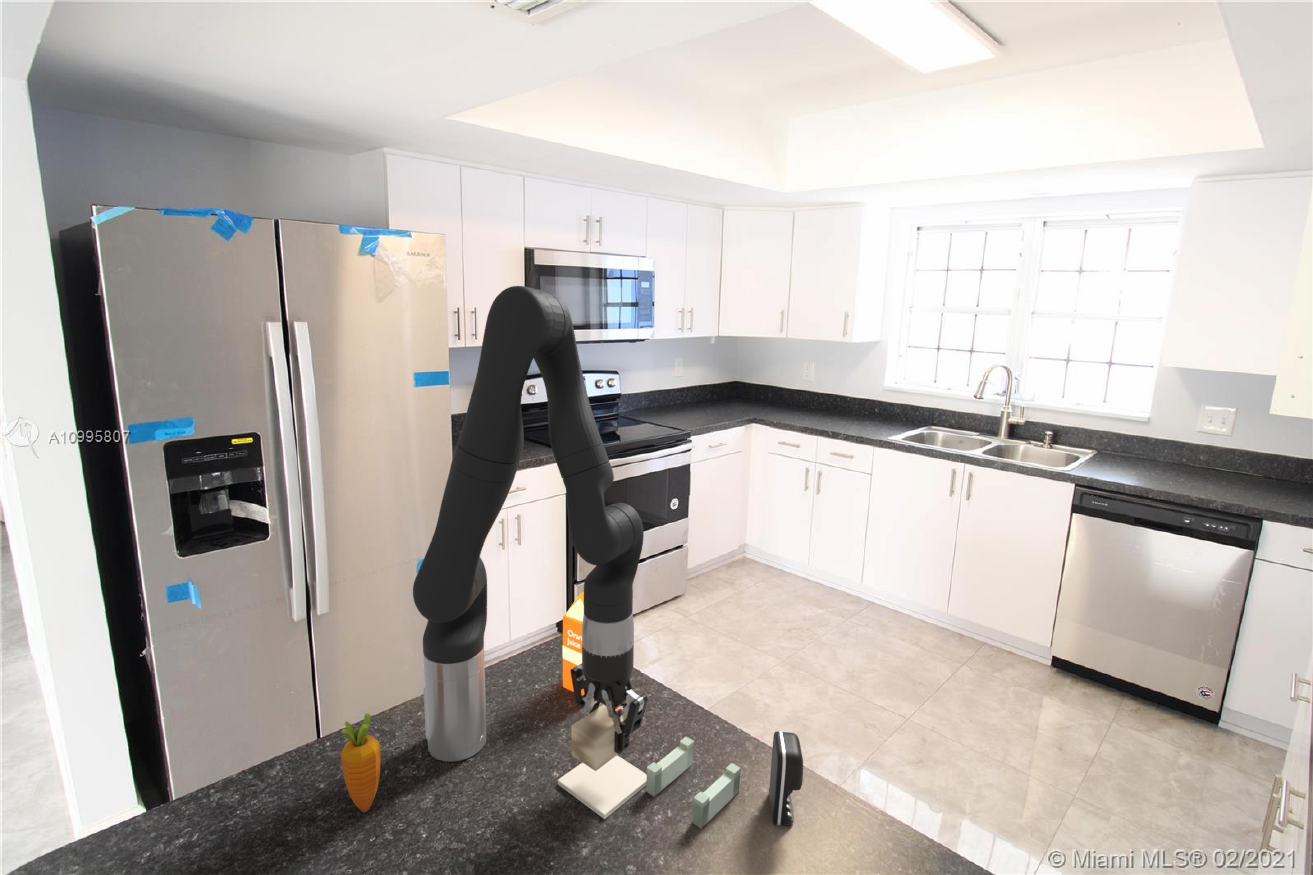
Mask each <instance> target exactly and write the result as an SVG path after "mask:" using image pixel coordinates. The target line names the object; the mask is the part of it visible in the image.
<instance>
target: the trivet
mask: <svg viewBox="0 0 1313 875" xmlns="http://www.w3.org/2000/svg"><path fill="white" fill-rule="evenodd" d="M646 777H647V773H645V771H642V770H641V769H639V768H637V767H636V766H634V765H633V764H631V763H630V762H629V761H626V759H624V758H622V757H621V756H619V754H618V755H617V756H615V757H614V758H613V759H611V760H610V761H609V762H607V763H606V764H605V765H603V766H602V767H601V768H599V769H598V770H597V771H595V770H593V769H591V768H590V767H588V766H587V765H585V764H584V763H582V762H581V763H580V764H578V765H577V766H576V767H574V768H572V769H571V770H570V771H568V772H567V773H565V774H564V775H563V776H561V777H560V778H558V779H557V785H558V786H559V787H561V788H562V789H563V790H565V791H566V792H568V793H569V794H571V795H572V796H573V797H574V798H576V799H577V800H578V801H579V802H581V803H582V804H584V805H585V806H586V807H588V808H589V809H591V811H592V812H594V813H596V814H597V815H598V816H600V817H601V818H602V819H604V820H606V819H607V818H608V817H610V815H612V814H613V813H614V812H615V811H617V810H618V809H619V808H621V807H622V806H624V804H626V803H627V802H628V801H630V799H632V798H633V797H634V796H635V795H636V794H638V793H639V792H640V791H641V790H643V789H644V788H646Z"/></svg>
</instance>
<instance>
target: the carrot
mask: <svg viewBox="0 0 1313 875" xmlns="http://www.w3.org/2000/svg"><path fill="white" fill-rule="evenodd" d="M362 721H363V722H362V724H361V726H360V728H358V727H356V728H355V729H354V728H353V726H352V724H351V723H350V722H349V721H345V722H344V726H346V728H343V729H342V731H341V734H342V735H344V736H345V737H346V738H347V739H348V741H347V742H346V743H345V745H344V746H343V748H342V750H341V754H340V759H341V767H342V768H341V769H342V774H343V781H344V782H345V787H346V790H347V792H348V794H349V798H350V799H351V800H352V801H353V803H354V805H355V806H356V807H357V808H358V809H359V810H360V811H361V813H366V812H368V811H369V810H370V808H371V806H372V804H373V802H374V799H375V797H376V795H377V791H378V788H379V781H380V775H381V744H380V742H379V740H377V739H376V738H375V737H374V736H373V735H369V734H368V731H369V728H370V721H371V714H370V713H364V717H363V720H362ZM367 734H368V735H367Z"/></svg>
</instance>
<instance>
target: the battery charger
mask: <svg viewBox="0 0 1313 875" xmlns="http://www.w3.org/2000/svg"><path fill="white" fill-rule="evenodd" d="M772 738H773V740H772V748H771V750H772V751H771V760H770V761H771V762H770V776H769V785H768V786H769V788H768V790H769V791H768V793H769V794H768V795H769V804H770V813H771V822H772V823H773V824H774V825H776V826H788V825H791V824H793V823H794V820H795V814H794V809H793V802H792V795H791V794H792V793H793V791H800V790H801V789H802V786H803V779H804V759H803V758H804V757H803V753H802V746H801V743H800V739H799V736H798V735H797V734H796V733H794V732H787V731H782V730H778V731H774V733H773V737H772Z"/></svg>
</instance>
